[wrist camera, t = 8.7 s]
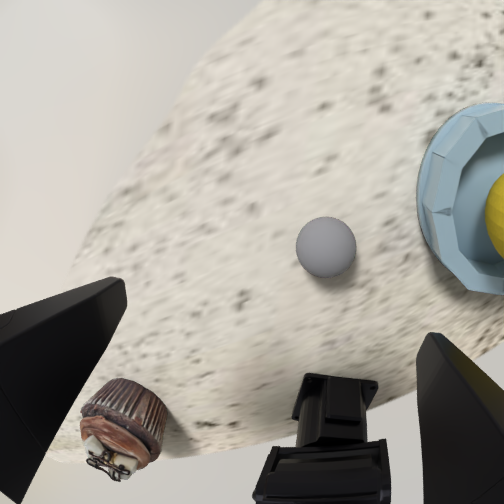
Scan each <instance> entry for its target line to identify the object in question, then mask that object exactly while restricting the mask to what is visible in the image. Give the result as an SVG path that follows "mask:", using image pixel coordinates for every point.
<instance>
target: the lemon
mask: <svg viewBox="0 0 504 504" xmlns="http://www.w3.org/2000/svg"><path fill="white" fill-rule="evenodd" d="M485 223H486V227H487V231H488V235H489V237H490V239H491V241H492V243H493V245H494V247H495V249H496V250H497V252H498V253H499V254H500V255H501V256H502V257H503V259H504V174H502V175H501V176H500V177H499V178H498V179H497V180H496V181H495V182H494V184H493V185H492V187H491V189H490V191H489V193H488V196H487V199H486V205H485Z"/></svg>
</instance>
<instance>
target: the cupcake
mask: <svg viewBox="0 0 504 504" xmlns="http://www.w3.org/2000/svg"><path fill="white" fill-rule="evenodd" d="M80 412H81V413H82V416H83V419H82V420H81V422H80V430H81V437H82V440H83V442H84V446H85V451H86V453H87V456H88V459H86V462H87V463H88V464H89V465H90V466H92V467H95V468H96V469H99V470H102V471H104V472H105V473H107V474H108V475H109V476H110V478H111V479H112V480H114V481H118V482H120V481H121V480H120V479H124V480H127V479H129V477H130V476H131V475H132V474H133V473H135V472H136V470H140V469H143V468H144V467H146V466H147V465H148V463H150V462H153V461H155V460H156V459H157V458H158V456H159V454H160V452H161V450H162V440H163V433H164V428H165V423H166V419H167V410H166V407H165V405H164V404H163V402H162V401H161V400H160V398H158V397H157V396H156V395H155V394H154V393H153V392H152V391H150V390H148V389H146V388H144V387H143V386H142V385H140V384H138V383H136V382H134V381H131V380H127V379H123V378H119V379H118V378H116V379H112V380H111V381H109V382H108V383H106V384H105V385H104V386H103V387H102V388H101V389H100V390H99V391H98V392H97V393H96V394H95V395H94V396H92V397H91V398H90V399H89V400H88V401H87V402H86V403H85V404H84V405H83V407H82V408H81V411H80ZM99 466H104V467H108V468H109V469H108V470H109V473H108V472H107V471H106V470H104V469H103V468H101V467H99Z"/></svg>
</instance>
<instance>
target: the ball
mask: <svg viewBox="0 0 504 504" xmlns="http://www.w3.org/2000/svg"><path fill="white" fill-rule="evenodd" d="M296 253H297V257H298V260H299V262H300V263H301V265H302V266H303V267H304V269H305V270H307V271H308V272H309V273H311V274H313V275H315V276H317V277H321V278H331V277H335V276H338V275H340V274H342V273H343V272H345V271H346V270H347V269H348V268H349V267H350V265H351V264H352V262H353V260H354V257H355V254H356V241H355V237H354V235H353V233H352V231H351V229H350V228H349V227H348V226H347V225H346V224H345V223H344V222H342V221H340V220H339V219H336V218H332V217H320V218H316V219H314V220H312V221H310V222H309V223H307V224H306V225H305V226H304V227H303V228H302V230H301V231H300V233H299V235H298V238H297V242H296Z"/></svg>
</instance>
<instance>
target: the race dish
mask: <svg viewBox="0 0 504 504" xmlns="http://www.w3.org/2000/svg"><path fill="white" fill-rule="evenodd" d="M502 174H504V104H500V103H480V104H475V105H471V106H469V107H466V108H464V109H462V110H460V111H458V112H457V113H455V114H454V115H453V116H451V117H450V118H449V119H448V120H446V122H445V123H444V124H443V125H442V126H441V127H440V128H439V129H438V131H437V132H436V134H435V135H434V136H433V138H432V139H431V141H430V143H429V145H428V147H427V149H426V151H425V154H424V157H423V159H422V162H421V166H420V170H419V174H418V181H417V192H416V202H417V213H418V218H419V223H420V226H421V229H422V233H423V235H424V237H425V239H426V241H427V243H428V245H429V247H430V248H431V250H432V251H433V253H434V254H435V256H436V257H437V258H438V260H439V261H440V262H441V263H442V264H443V265H444V266H445V267H446V268H447V269H448V270H449V271H451V272H452V273H453V274H454V275H455V276H456V277H457V278H458V279H459V280H460V281H461V282H462V283H463V284H464V286H465V287H466V288H467V289H468V290H472V291H479V292H485V293H491V294H497V295H504V259H503V257H502V256H501V255H500V254H499V253H498V252H497V250H496V249H495V247H494V245H493V243H492V241H491V239H490V237H489V235H488V231H487V227H486V223H485V205H486V199H487V196H488V193H489V191H490V189H491V187H492V185H493V184H494V182H495V181H496V180H497V179H498V178H499V177H500V176H501V175H502Z"/></svg>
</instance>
